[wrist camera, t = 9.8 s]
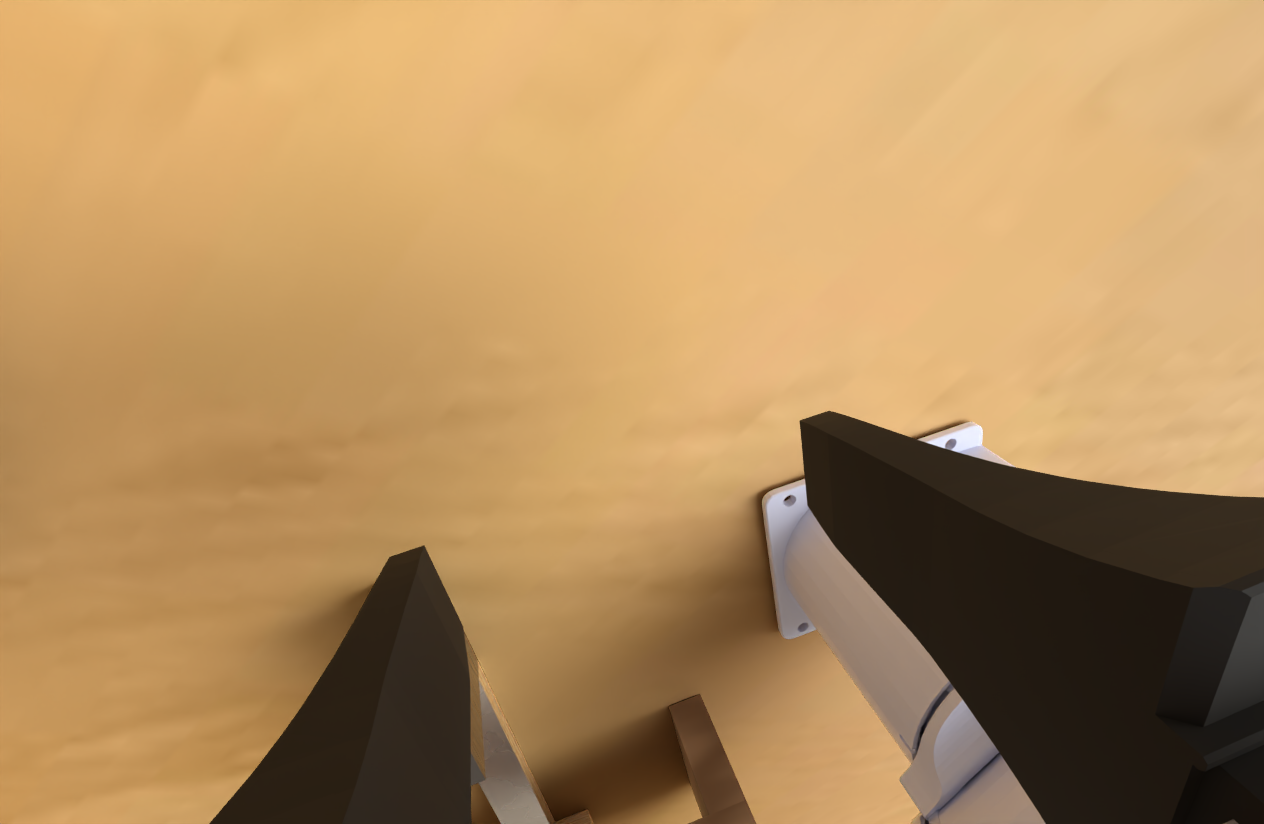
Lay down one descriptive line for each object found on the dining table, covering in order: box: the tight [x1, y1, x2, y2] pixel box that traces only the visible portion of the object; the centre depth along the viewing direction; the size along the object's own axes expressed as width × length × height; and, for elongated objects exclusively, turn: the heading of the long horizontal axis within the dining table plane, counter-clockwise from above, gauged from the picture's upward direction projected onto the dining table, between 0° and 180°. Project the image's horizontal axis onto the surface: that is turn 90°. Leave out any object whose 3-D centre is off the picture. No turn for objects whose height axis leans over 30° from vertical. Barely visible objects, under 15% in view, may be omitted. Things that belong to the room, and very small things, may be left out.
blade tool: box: [464, 632, 593, 824], centre depth 24 cm, size 18×5×5 cm, turn 12°
